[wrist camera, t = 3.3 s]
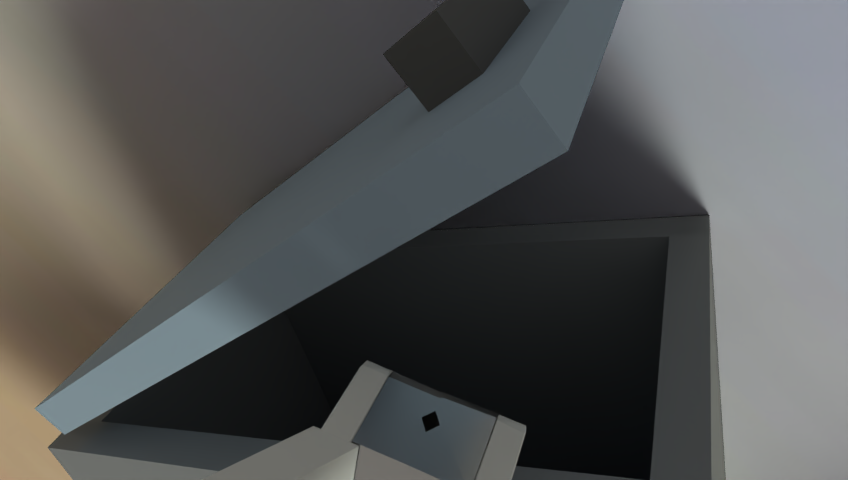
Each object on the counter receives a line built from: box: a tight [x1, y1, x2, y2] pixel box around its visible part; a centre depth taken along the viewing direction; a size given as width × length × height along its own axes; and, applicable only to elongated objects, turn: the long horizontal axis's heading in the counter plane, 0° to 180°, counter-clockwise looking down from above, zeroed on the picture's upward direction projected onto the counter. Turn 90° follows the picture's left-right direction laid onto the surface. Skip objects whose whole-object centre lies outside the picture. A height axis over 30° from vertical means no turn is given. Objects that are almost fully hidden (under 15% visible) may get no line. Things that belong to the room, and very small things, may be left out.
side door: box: [35, 0, 624, 435], centre depth 16 cm, size 16×2×10 cm, turn 132°
